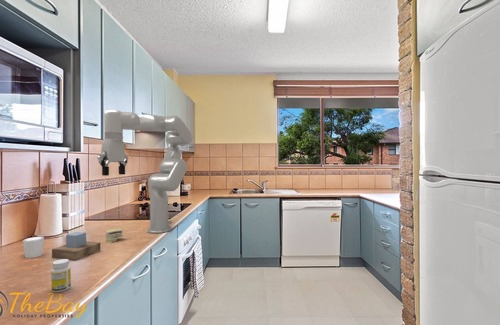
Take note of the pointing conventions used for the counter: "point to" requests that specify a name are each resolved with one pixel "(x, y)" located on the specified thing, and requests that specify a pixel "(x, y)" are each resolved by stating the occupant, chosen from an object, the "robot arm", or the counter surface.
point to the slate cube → (76, 239)
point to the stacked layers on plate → (113, 235)
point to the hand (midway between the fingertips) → (114, 174)
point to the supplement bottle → (61, 275)
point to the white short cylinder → (33, 247)
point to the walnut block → (76, 251)
